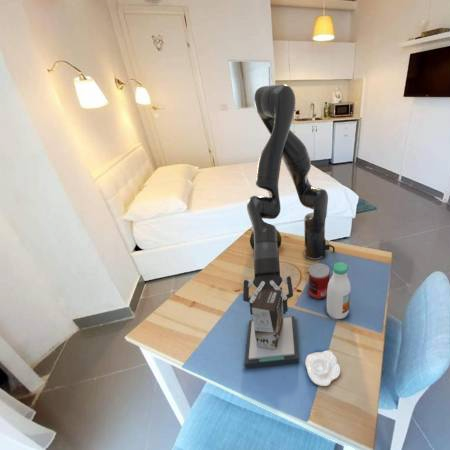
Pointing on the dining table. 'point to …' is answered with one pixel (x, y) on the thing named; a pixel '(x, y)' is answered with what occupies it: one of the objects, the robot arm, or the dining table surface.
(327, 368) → the rose
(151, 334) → the dining table surface
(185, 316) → the dining table surface
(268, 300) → the coffee box
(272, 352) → the scale
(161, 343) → the dining table surface
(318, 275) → the canned food
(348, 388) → the dining table surface
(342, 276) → the milk bottle
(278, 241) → the squash
